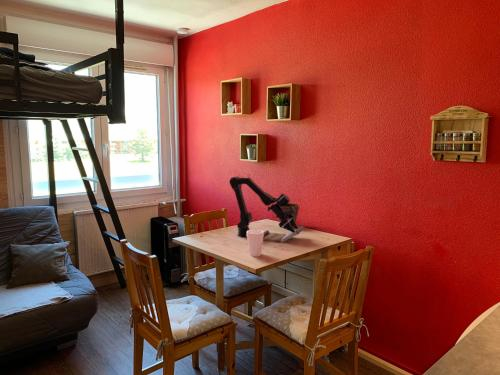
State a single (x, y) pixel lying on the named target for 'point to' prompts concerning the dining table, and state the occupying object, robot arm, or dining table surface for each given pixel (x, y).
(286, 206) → the plant pot
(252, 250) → the foam cup
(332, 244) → the dining table surface
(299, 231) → the tailgate
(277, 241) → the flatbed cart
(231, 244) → the dining table surface
